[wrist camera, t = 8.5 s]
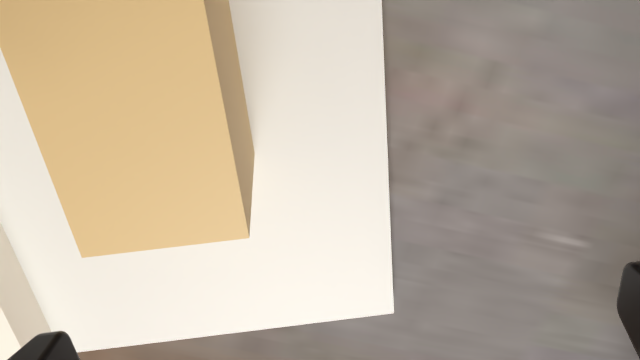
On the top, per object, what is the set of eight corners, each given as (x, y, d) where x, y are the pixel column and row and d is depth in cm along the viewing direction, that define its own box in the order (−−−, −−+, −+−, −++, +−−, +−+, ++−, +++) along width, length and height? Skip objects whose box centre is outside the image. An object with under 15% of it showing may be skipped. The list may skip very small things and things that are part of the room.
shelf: (390, 300, 24) (403, 349, 22) (41, 343, 24) (15, 397, 22) (357, -462, 13) (378, -538, 10) (-316, -393, 12) (-459, -455, 10)
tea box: (214, -85, 16) (191, -64, 11) (254, 153, 19) (249, 238, 15) (47, -67, 15) (-41, -38, 11) (120, 168, 19) (76, 258, 15)
